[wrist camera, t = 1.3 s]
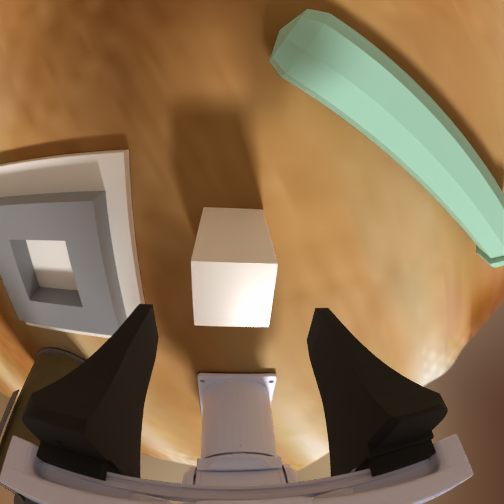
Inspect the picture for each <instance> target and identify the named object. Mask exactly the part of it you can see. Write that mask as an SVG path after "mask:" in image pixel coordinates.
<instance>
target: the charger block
mask: <svg viewBox="0 0 504 504" xmlns="http://www.w3.org/2000/svg"><path fill="white" fill-rule="evenodd" d="M277 266H278V262H277V259H276V255H275V251H274V247H273V244H272V240H271V236H270V232H269V229H268V225H267V221H266V218H265V214H264V210H263V209H241V208H212V207H203V211H202V216H201V220H200V224H199V228H198V232H197V237H196V241H195V245H194V250H193V254H192V259H191V275H192V296H193V313H194V325H198V326H228V327H269V323H270V316H271V309H272V302H273V295H274V288H275V281H276V274H277Z"/></svg>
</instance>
